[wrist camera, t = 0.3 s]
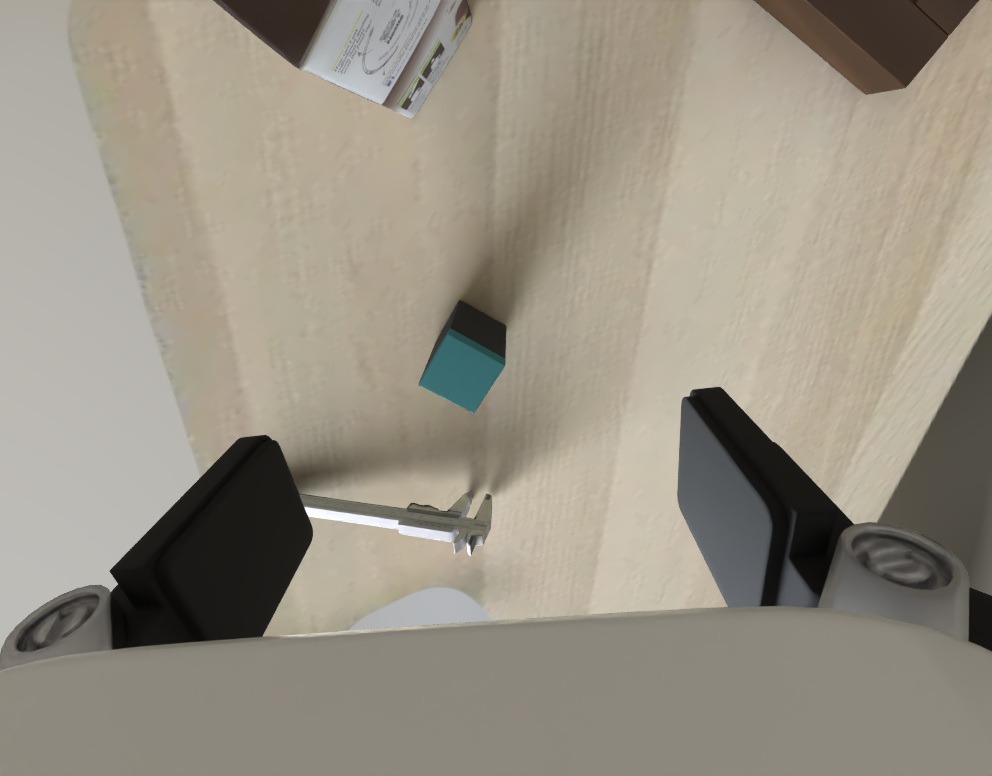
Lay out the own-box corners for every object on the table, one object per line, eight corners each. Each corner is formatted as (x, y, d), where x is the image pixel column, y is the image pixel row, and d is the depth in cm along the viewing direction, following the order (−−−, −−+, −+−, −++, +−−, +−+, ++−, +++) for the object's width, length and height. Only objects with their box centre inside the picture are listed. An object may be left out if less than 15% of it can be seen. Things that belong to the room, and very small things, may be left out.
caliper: (492, 490, 40) (489, 545, 34) (492, 501, 40) (489, 556, 35) (258, 489, 40) (217, 543, 35) (261, 499, 41) (221, 554, 35)
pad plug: (459, 299, 32) (447, 333, 26) (506, 325, 33) (505, 365, 27) (435, 343, 34) (418, 385, 27) (480, 367, 35) (473, 414, 28)
